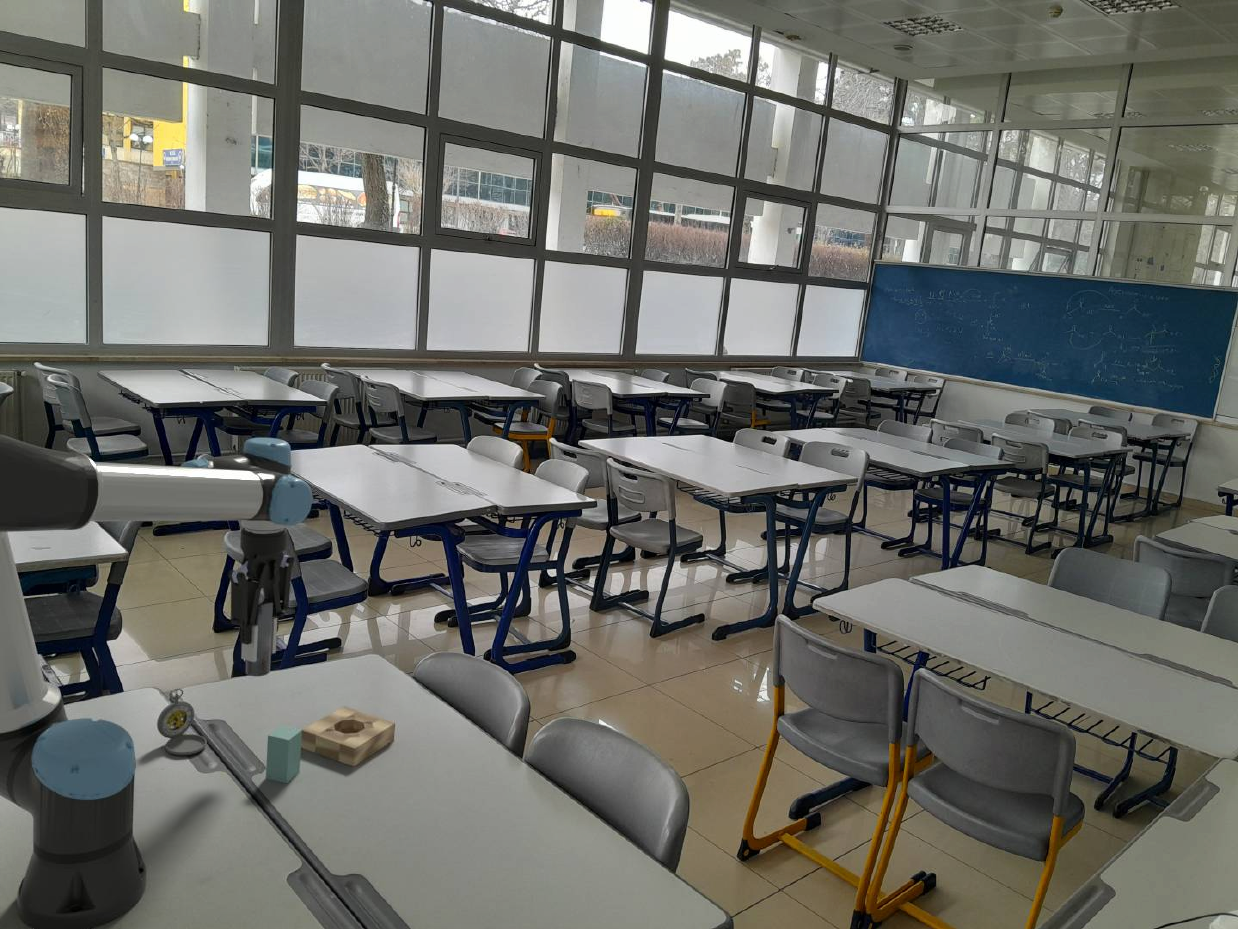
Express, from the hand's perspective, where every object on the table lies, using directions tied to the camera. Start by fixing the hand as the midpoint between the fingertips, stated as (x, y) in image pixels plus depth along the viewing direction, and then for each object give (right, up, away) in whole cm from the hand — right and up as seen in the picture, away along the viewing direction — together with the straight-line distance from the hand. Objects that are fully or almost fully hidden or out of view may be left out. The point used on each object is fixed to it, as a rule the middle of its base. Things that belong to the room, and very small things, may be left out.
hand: (258, 655), depth 163 cm
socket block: (+13, -19, +10) cm, 25 cm away
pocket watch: (-15, -17, +3) cm, 23 cm away
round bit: (0, -3, +1) cm, 3 cm away
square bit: (+5, -20, -3) cm, 21 cm away
